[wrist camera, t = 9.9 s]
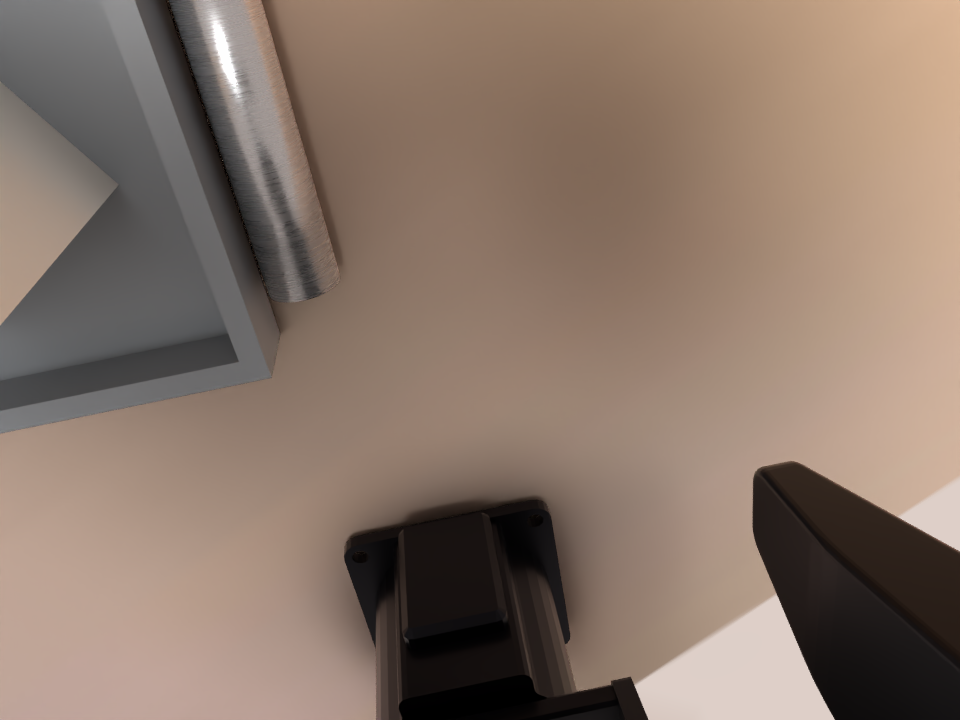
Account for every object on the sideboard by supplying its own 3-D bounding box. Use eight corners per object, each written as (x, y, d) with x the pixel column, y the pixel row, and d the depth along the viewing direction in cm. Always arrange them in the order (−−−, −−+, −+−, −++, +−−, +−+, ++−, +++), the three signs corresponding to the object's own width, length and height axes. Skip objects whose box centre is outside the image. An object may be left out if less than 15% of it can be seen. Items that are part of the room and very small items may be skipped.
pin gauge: (255, 292, 20) (314, 263, 21) (294, 308, 19) (354, 277, 20) (89, -183, 15) (176, -193, 16) (127, -202, 14) (219, -211, 15)
